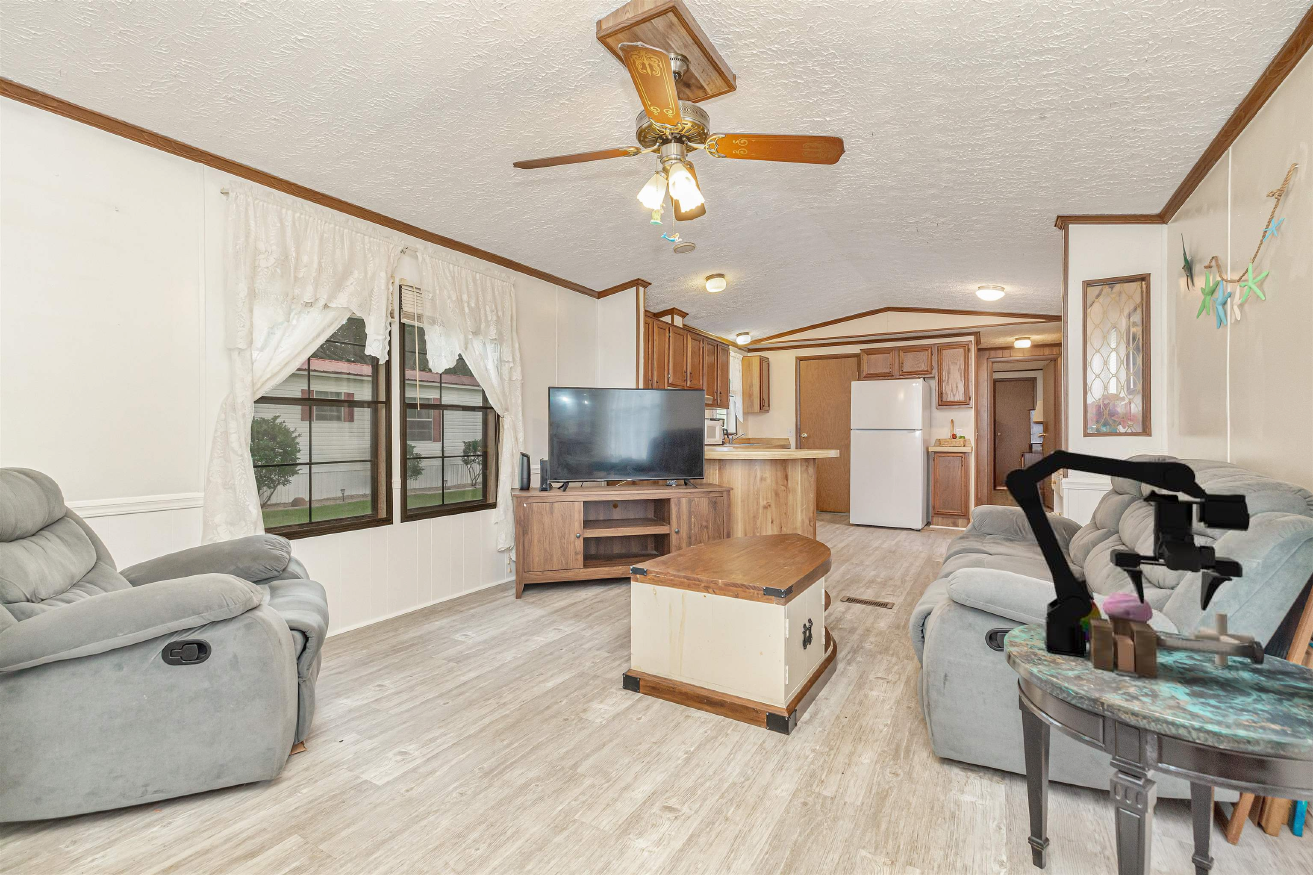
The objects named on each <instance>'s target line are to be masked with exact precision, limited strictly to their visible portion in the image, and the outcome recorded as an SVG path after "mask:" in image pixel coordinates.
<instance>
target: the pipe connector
mask: <svg viewBox="0 0 1313 875" xmlns="http://www.w3.org/2000/svg"><path fill="white" fill-rule="evenodd" d="M1213 613H1214V614H1213V617H1214V618H1213V619H1214V621H1213V622H1214V629H1213V628H1209V627H1207V626H1204V625H1202V626H1199V627H1198V630H1197V631H1198V632H1197V631H1196V632H1195V631H1190V632H1188V638H1195V639H1204V640H1212V641H1221V642H1230V643H1238V644H1247V645H1248V643H1249V641H1250V640H1252V641H1256V640H1255V637H1254V635H1253V634H1243V633H1241V634H1239V633H1228V613H1226V612H1223V611H1214V612H1213ZM1214 658H1215V659H1214V660H1215V662H1214V663H1215V664H1216V665H1218V666H1223V667H1228V666H1229V656H1224V655H1216V654H1214Z"/></svg>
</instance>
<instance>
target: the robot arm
mask: <svg viewBox="0 0 1313 875" xmlns="http://www.w3.org/2000/svg"><path fill="white" fill-rule="evenodd" d="M1060 470H1069V471H1070V470H1071V471H1075V472H1076V471H1077V472H1083V473H1090V474H1095V475H1101V476H1108V477H1114V478H1122V479H1128V480H1132V481H1135V482H1138V483H1141V484H1145V485H1147V486H1148V485H1149V486H1151V487H1155V488H1158V489H1160V490H1164V491H1167V492H1171V493H1172V494H1171V493H1158V492H1157V491H1156V490H1155V489H1153V488H1152V489H1150V490H1149V491H1148V493H1146V494H1144V495H1143V496H1141V498H1140V499H1141V500H1142V501H1143V502H1144V503H1145V502H1146V503H1153V528H1152V534H1153V547H1152V548H1153V549H1152V555H1149V554H1148V555H1147V554H1141V553H1139V552H1138V551H1136V550H1135V549H1124V548H1123V549H1122V548H1113V549H1112V550H1110V552H1109V562H1110V563H1111V564H1112V565H1113V566H1114V567H1117V568H1119V569H1120V570H1122V572H1126V574H1127V575H1128V578H1129V579H1130V581H1131V583H1132V585H1133V589H1134V591H1135V594H1136V596H1137V597H1138V599H1139V601H1140V603H1141V604H1144V599H1145V592H1144V583H1143V569H1140V566H1141V565H1144V566H1145V565H1146V566H1158V567H1165V568H1166V569H1167V570H1169V571H1173V572H1174V571H1175V572H1178V571H1182V572H1183V571H1185V572H1191V573H1196V574H1197V573H1200V572H1201V580H1200V581H1201V583H1200V584H1201V585H1200V598H1199V599H1200V600H1199V602H1200V609H1201V611H1204V612H1206V611H1207V609H1208V607H1209V605H1210V603H1211V601H1212V599H1213V597H1214V595H1215V593H1216V592H1217V590H1218V589H1219V587H1220V586H1221V585H1222V584H1224V583H1225V582H1232V581H1233V580H1234V579H1233V578H1243V571H1244V568H1243V565H1242V564H1241V563H1240V562H1239V561H1237V560H1235V559H1233V558H1231V557H1227V556H1226V557H1225V556H1216V548H1215V547H1214V545H1199V546H1197V545H1196V543H1195V535H1194V534H1193V533H1194V531H1193V530H1194V528H1193V526H1194V519H1193V518H1194V505H1195V519H1196V522H1197V523H1199V524H1201V523H1202V524H1203V528H1204V529H1206V530H1207V529H1208V530H1209V529H1210V530H1220V531H1221V530H1222V531H1234V532H1235V531H1238V532H1248V531H1249V528H1250V520H1251V515H1250V513H1249V508H1248V504H1247V502H1246V501H1247V500H1246V499H1247V498H1246V497H1247V496H1246V495H1245V494H1242V493H1229V494H1227V493H1225V494H1224V493H1222V494H1221V493H1220V494H1219V493H1207V492H1206V489H1205V488H1203V487H1202V486H1200V485H1199V483H1198V482H1197V481H1196V473H1195V471H1194V470H1193V468H1191V467H1190V466H1189V465H1188V464H1186V463H1182V462H1178V461H1174V460H1173V461H1172V460H1167V461H1166V460H1165V461H1163V460H1157V461H1156V460H1146V461H1145V460H1143V461H1142V460H1127V459H1119V458H1112V457H1107V456H1098V455H1090V454H1085V453H1079V452H1073V451H1072V452H1071V451H1066V450H1065V449H1064V450H1063V449H1055V450H1052V451H1051V452H1050V453H1049V454H1048V455H1046V456H1045V457H1043V458H1041V459H1039V460H1038V461H1036V462H1034V463H1033V464H1031V465H1029V466H1028V467H1026V468H1025V467H1017V468H1014V469H1012V470H1010V472H1008V473H1007V475H1006V477H1005V479H1004V484H1005V485H1004V486H1005V487H1006V488H1005V489H1007V491H1008V492H1009V494H1010V495H1011V496H1012V498H1013V499H1014V501H1015V502H1016V504H1017V505H1018V507H1020V508H1021V510H1022V511H1023V513H1024V515H1025V517H1026V519H1027V522H1028V525H1029V526H1030V529H1031V531H1032V533H1033V535H1034V537H1035V540H1036V542H1037V545H1038V546H1039V548H1040V551H1041V553H1042V556H1043V558H1044V560H1045V561H1046V562H1045V563H1046V564H1047V565H1046V566H1047V567H1048V569H1049V572H1050V573H1051V577H1052V582H1053V587H1054V591H1055V596H1056V597H1055V598H1054V599H1053V600H1051V601H1050V602H1049V603H1048V604H1046V616H1045V618H1044V619H1045V620H1044V622H1045V623H1044V624H1045V628H1044V629H1045V640H1044V641H1043V642H1044V646H1045V649H1046V650H1045V651H1046V652H1048V653H1055V654H1060V655H1068V656H1074V657H1075V656H1076V657H1085V652H1087V641H1086V631H1085V629H1084V628H1083V624H1082V622H1081V618H1084V617H1087V616H1088V615H1089V614H1090V613H1091V611H1092V602H1091V600H1093V601H1095V595H1094V592H1093V590H1091V588H1090V587H1089V586H1088V582H1087V579H1086V574H1085V575H1084V574H1081V575H1079V576H1077V574H1076V573H1075V571H1074V570H1073V569H1072V567H1071V565H1070V564H1069V561H1068V559H1067V557H1066V554H1065V552H1064V550H1063V548H1062V545H1061V543H1060V541H1059V539H1058V536H1057V534H1056V533H1055V530H1054V528H1053V526H1052V523H1051V520H1050V518H1049V517H1048V515H1047V512H1046V510H1045V508H1044V504H1043V501H1042V495H1041V491H1040V486H1039V483H1040V482H1041V481H1044V479H1046V478H1048V477H1050V476H1052V475H1053V474H1055V473H1057V472H1059V471H1060ZM1173 493H1181V494H1184V495H1186V496H1188V497H1190V498H1192V499H1194V500H1190V499H1179V494H1173ZM1196 499H1197V500H1196Z"/></svg>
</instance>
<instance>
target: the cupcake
mask: <svg viewBox="0 0 1313 875" xmlns="http://www.w3.org/2000/svg"><path fill="white" fill-rule="evenodd" d="M1102 610H1103V612H1104V614H1105V615H1106V616H1107V619H1108V621H1109V623H1110V624H1111V626H1112V627H1113V634H1114V635H1123V636H1129V638H1130V633H1129V622H1138V623H1147V624H1148V622H1149V621H1150V620H1152V619H1153V617H1154V616H1153V615H1154V614H1153V609H1152V606H1151V605H1150V603H1149V602H1148V601H1147V599H1145V598H1144V604H1141V603H1140V601H1139V599H1138V596H1137V595H1133V594H1128V593H1126V592H1125V593H1124V592H1122V593H1121V592H1120V593H1119V592H1113V593H1110V595H1109V596H1108V597H1107V598H1106V599H1105V600H1104V601H1103V602H1102Z"/></svg>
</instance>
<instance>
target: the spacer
mask: <svg viewBox="0 0 1313 875" xmlns="http://www.w3.org/2000/svg"><path fill="white" fill-rule="evenodd" d="M1113 660H1114V662H1115V664H1116V666H1117V668H1118V669H1119V670H1126V671H1133V672H1134V644H1133V642H1132V641H1131V639H1130V638H1129V636H1123V635H1114V634H1113Z"/></svg>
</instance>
